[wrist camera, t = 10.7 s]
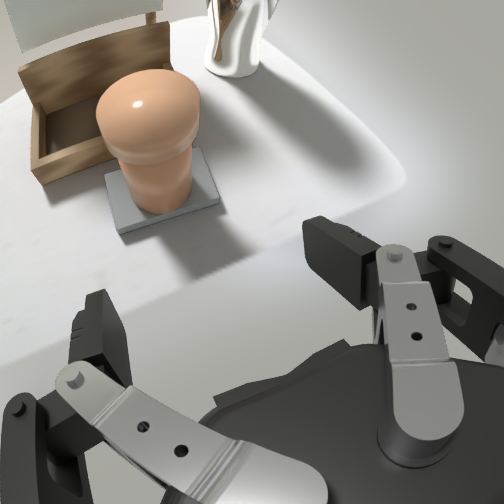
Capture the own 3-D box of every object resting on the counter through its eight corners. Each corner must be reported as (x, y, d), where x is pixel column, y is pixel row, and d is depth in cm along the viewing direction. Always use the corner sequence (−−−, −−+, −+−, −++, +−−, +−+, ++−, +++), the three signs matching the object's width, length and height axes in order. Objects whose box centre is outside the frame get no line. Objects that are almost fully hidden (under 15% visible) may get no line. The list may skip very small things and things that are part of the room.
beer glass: (264, 50, 32) (293, -58, 18) (260, 85, 30) (295, -42, 16) (205, 42, 31) (218, -69, 17) (192, 76, 29) (202, -55, 15)
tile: (118, 235, 22) (115, 229, 21) (106, 181, 24) (104, 174, 23) (218, 203, 24) (219, 197, 24) (199, 153, 26) (199, 146, 25)
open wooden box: (41, 185, 23) (-19, 94, 12) (42, 91, 26) (12, 10, 15) (192, 136, 26) (196, 23, 15) (160, 54, 29) (159, -34, 19)
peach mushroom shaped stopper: (134, 229, 22) (102, 157, 13) (118, 167, 23) (92, 85, 15) (207, 205, 23) (214, 124, 15) (185, 147, 24) (184, 61, 16)
